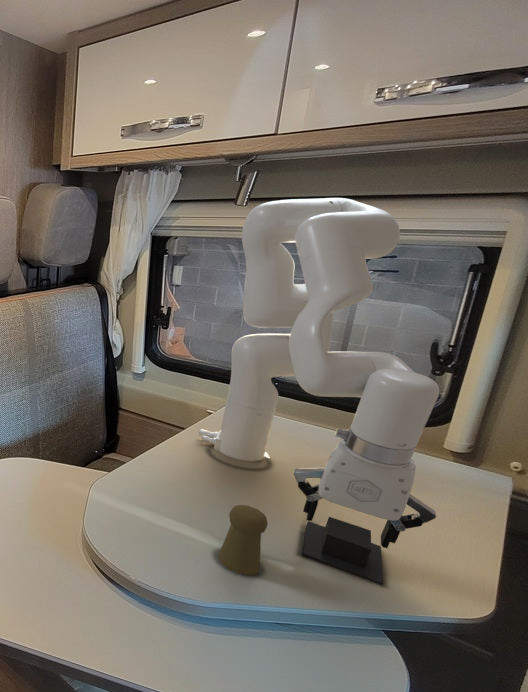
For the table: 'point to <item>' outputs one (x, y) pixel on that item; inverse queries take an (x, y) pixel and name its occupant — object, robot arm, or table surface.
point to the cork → (243, 540)
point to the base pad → (313, 552)
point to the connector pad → (346, 542)
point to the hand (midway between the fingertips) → (345, 528)
